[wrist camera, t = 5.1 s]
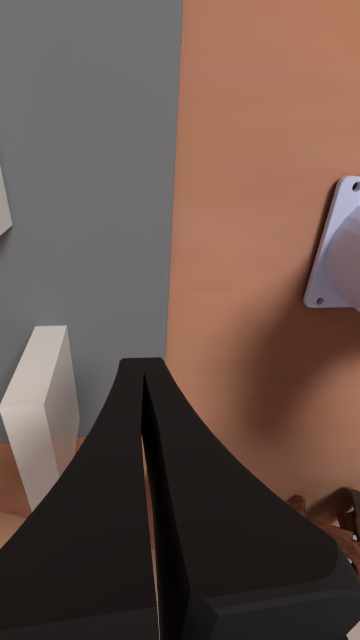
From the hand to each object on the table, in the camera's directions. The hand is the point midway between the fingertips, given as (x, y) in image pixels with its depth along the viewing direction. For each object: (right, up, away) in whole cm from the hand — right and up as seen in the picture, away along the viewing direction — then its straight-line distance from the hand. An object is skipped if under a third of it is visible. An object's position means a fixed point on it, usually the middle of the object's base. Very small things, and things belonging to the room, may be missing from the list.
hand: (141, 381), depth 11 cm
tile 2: (-7, -2, +11) cm, 13 cm away
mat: (-7, +4, +7) cm, 11 cm away
